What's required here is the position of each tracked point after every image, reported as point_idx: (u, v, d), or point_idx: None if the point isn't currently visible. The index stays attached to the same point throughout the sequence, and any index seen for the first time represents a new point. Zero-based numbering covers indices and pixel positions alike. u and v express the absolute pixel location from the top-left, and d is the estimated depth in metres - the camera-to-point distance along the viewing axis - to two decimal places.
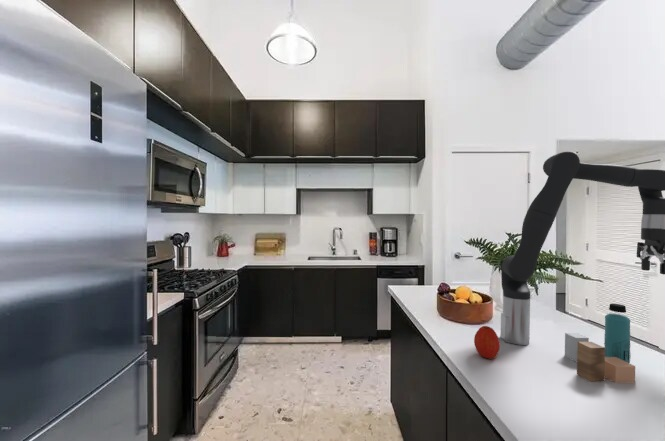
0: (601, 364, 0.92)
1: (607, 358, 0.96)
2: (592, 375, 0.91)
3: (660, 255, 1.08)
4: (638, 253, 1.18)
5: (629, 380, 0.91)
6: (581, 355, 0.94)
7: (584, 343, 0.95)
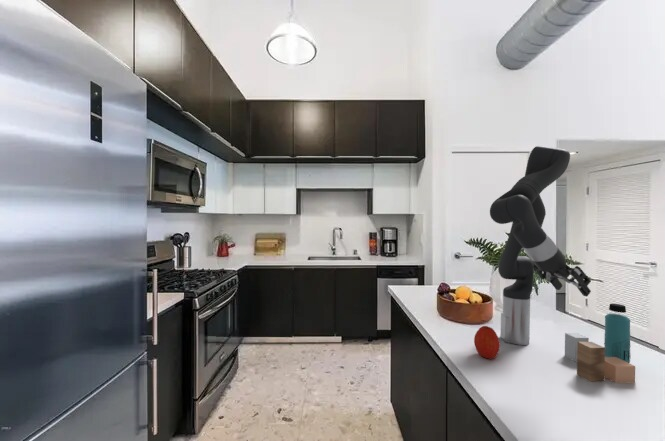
0: (601, 364, 0.92)
1: (607, 358, 0.96)
2: (592, 375, 0.91)
3: None
4: None
5: (629, 380, 0.91)
6: (581, 355, 0.94)
7: (584, 343, 0.95)
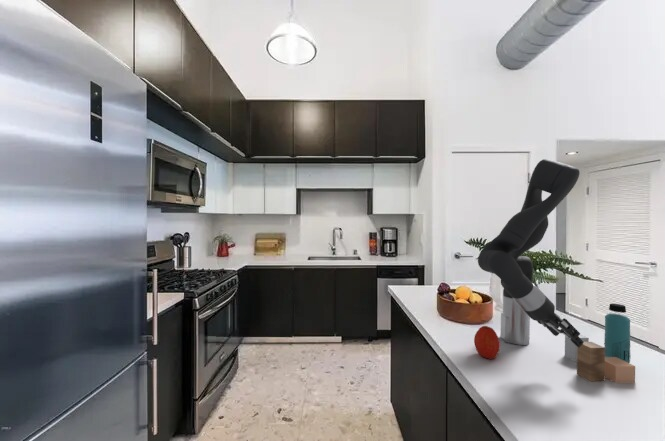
0: (601, 364, 0.92)
1: (607, 358, 0.96)
2: (592, 375, 0.91)
3: None
4: None
5: (629, 380, 0.91)
6: (581, 355, 0.94)
7: (584, 343, 0.95)
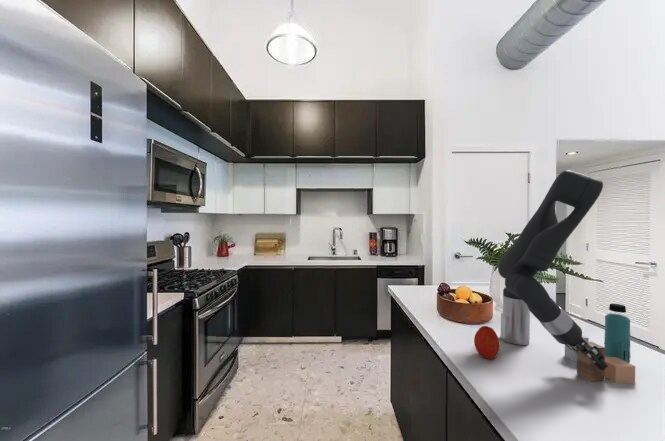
0: None
1: (607, 358, 0.96)
2: (592, 375, 0.91)
3: None
4: None
5: (629, 380, 0.91)
6: (581, 355, 0.94)
7: None
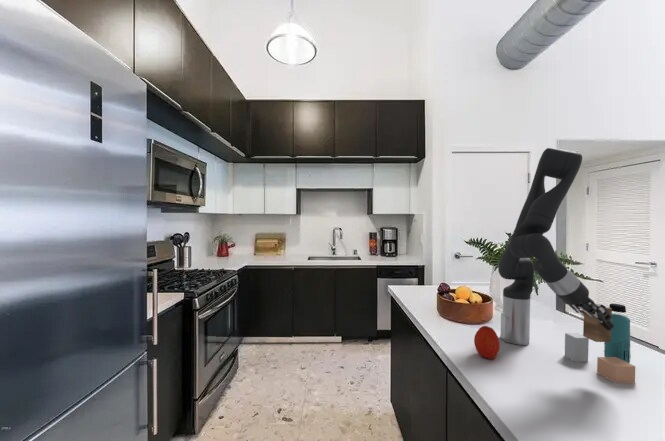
0: None
1: (607, 358, 0.96)
2: (598, 335, 0.92)
3: None
4: None
5: (629, 380, 0.91)
6: (587, 316, 0.95)
7: None
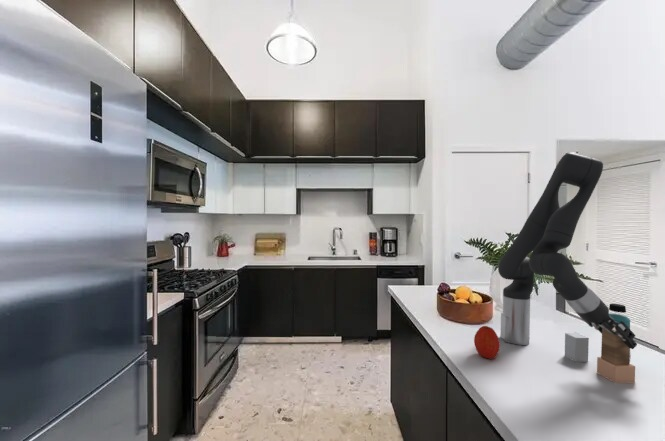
0: (626, 347, 0.92)
1: None
2: (617, 358, 0.92)
3: None
4: None
5: (629, 380, 0.91)
6: (605, 339, 0.95)
7: None
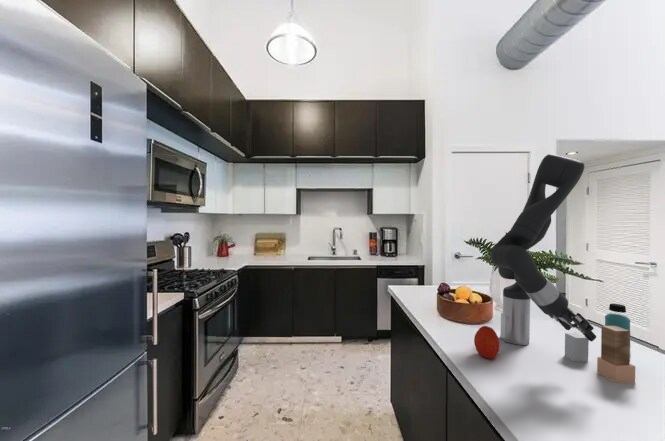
0: (626, 347, 0.92)
1: None
2: (617, 358, 0.92)
3: None
4: None
5: (629, 380, 0.91)
6: (605, 339, 0.95)
7: (608, 327, 0.95)
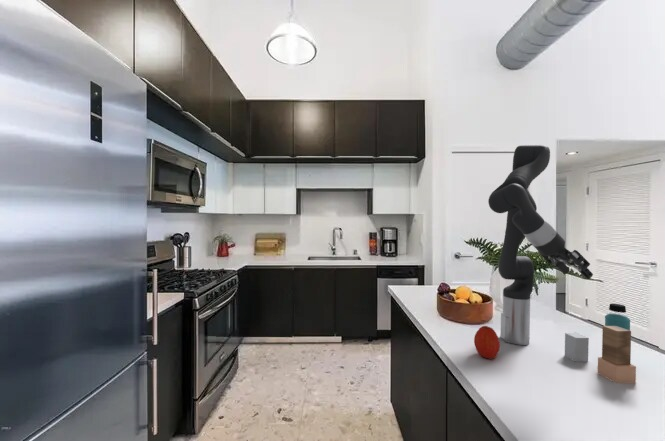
0: (627, 347, 0.92)
1: None
2: (618, 358, 0.92)
3: None
4: None
5: (630, 380, 0.91)
6: (606, 339, 0.95)
7: (609, 327, 0.95)
